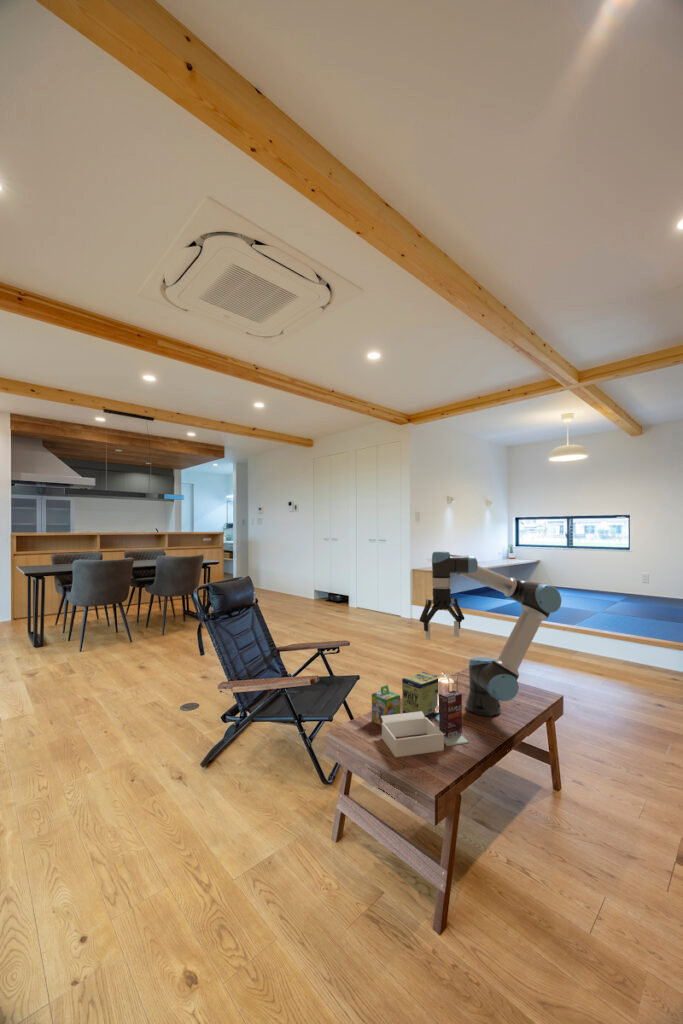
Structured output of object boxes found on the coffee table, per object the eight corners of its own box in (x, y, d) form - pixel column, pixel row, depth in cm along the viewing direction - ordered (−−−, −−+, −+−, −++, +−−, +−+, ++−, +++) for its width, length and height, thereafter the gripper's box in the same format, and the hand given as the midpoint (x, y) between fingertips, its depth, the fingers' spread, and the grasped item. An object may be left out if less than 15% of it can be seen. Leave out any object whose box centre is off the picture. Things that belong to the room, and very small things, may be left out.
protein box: (401, 713, 180) (401, 678, 181) (423, 704, 190) (423, 671, 191) (420, 721, 172) (419, 684, 173) (442, 711, 182) (441, 676, 183)
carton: (423, 729, 165) (423, 710, 166) (447, 754, 146) (447, 733, 147) (379, 734, 161) (379, 715, 161) (398, 761, 141) (398, 739, 142)
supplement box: (447, 740, 155) (447, 698, 156) (438, 734, 159) (438, 694, 160) (463, 734, 160) (462, 693, 161) (453, 729, 164) (453, 689, 165)
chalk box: (386, 729, 166) (386, 692, 166) (370, 721, 173) (370, 686, 174) (401, 722, 171) (401, 687, 172) (385, 715, 178) (385, 681, 179)
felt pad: (451, 727, 167) (451, 726, 167) (468, 743, 154) (468, 741, 154) (431, 730, 165) (431, 728, 165) (447, 745, 152) (447, 744, 152)
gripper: (462, 585, 179) (463, 633, 177) (411, 587, 172) (411, 637, 171) (471, 587, 172) (473, 637, 170) (419, 589, 165) (419, 642, 164)
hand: (442, 638), depth 171 cm, fingers open, 13 cm apart
